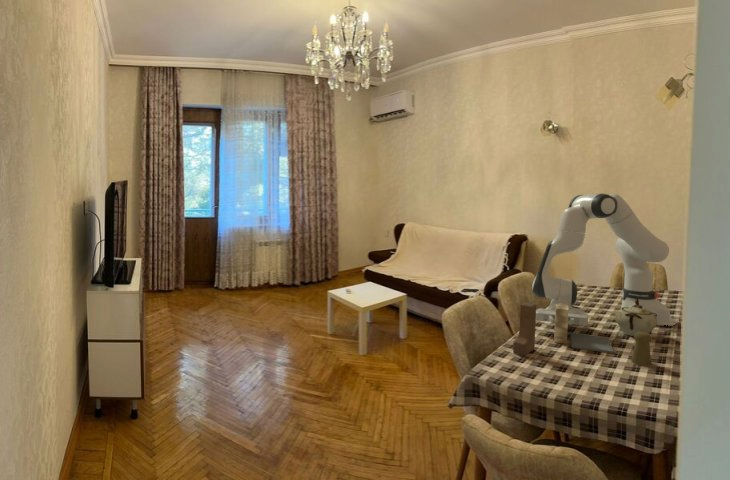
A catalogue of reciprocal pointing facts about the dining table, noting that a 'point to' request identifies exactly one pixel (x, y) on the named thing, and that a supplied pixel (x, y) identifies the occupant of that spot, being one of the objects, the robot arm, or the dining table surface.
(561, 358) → the dining table surface
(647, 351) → the olive peg figure
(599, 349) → the grey mat
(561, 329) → the pine block
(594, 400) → the dining table surface
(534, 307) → the wooden block
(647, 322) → the sugar bowl
